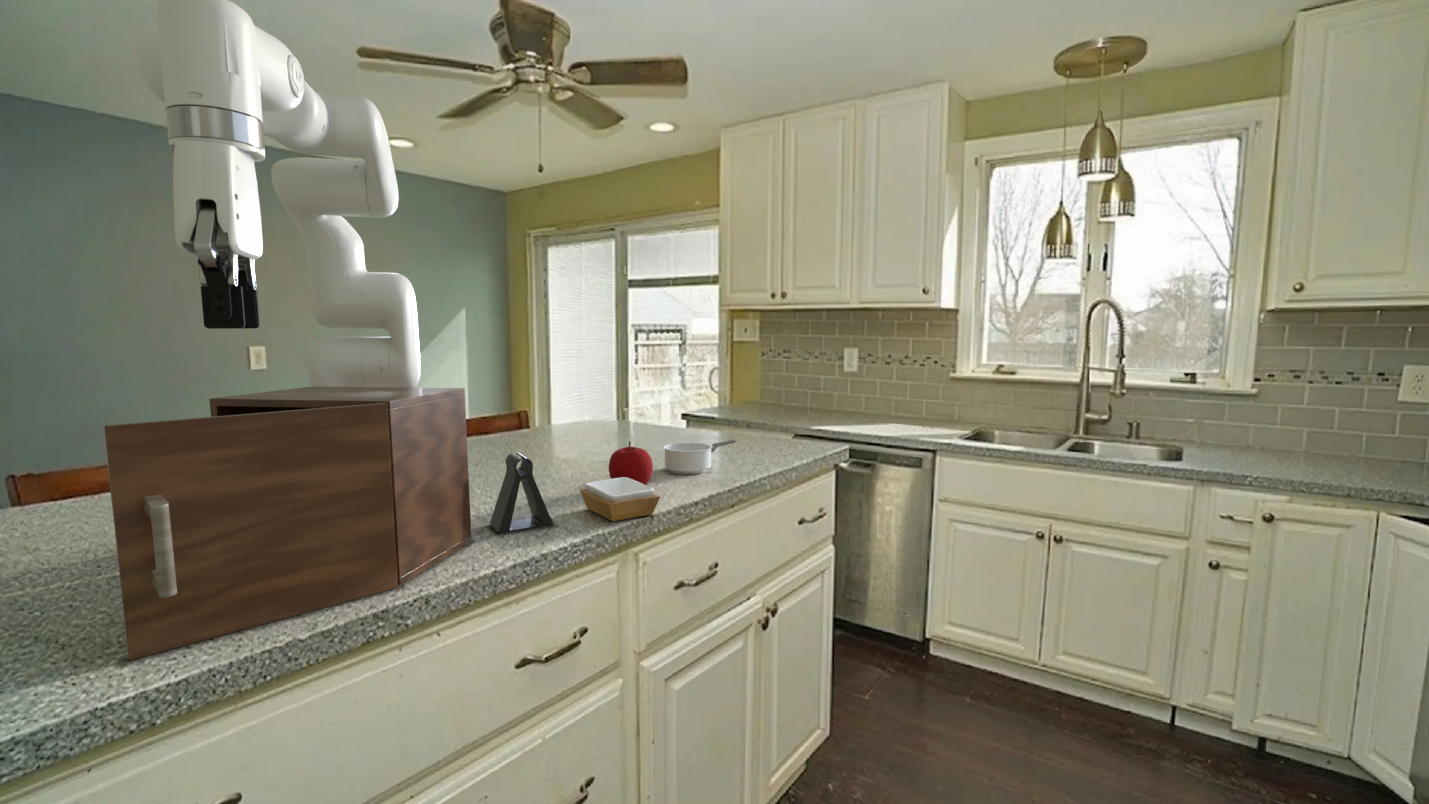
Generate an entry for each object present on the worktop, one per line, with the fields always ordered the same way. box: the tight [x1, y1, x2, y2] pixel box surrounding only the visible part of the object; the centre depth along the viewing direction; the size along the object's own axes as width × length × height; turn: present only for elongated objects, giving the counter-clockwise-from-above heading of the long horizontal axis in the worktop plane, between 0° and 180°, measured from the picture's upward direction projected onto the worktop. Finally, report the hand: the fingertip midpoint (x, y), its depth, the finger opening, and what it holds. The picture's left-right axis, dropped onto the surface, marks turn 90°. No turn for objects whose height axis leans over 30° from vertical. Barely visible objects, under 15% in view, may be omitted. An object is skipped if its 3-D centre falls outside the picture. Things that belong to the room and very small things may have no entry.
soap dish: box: [579, 477, 661, 523], centre depth 120 cm, size 12×10×5 cm
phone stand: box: [489, 452, 554, 535], centre depth 112 cm, size 9×6×12 cm, turn 120°
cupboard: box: [209, 386, 472, 586], centre depth 96 cm, size 18×26×24 cm
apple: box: [608, 441, 654, 486], centre depth 138 cm, size 9×9×10 cm
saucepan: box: [662, 439, 736, 475], centre depth 158 cm, size 12×20×6 cm, turn 130°
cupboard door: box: [103, 403, 399, 661], centre depth 73 cm, size 6×26×24 cm, turn 136°
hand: (233, 326), depth 67 cm, fingers open, 4 cm apart
